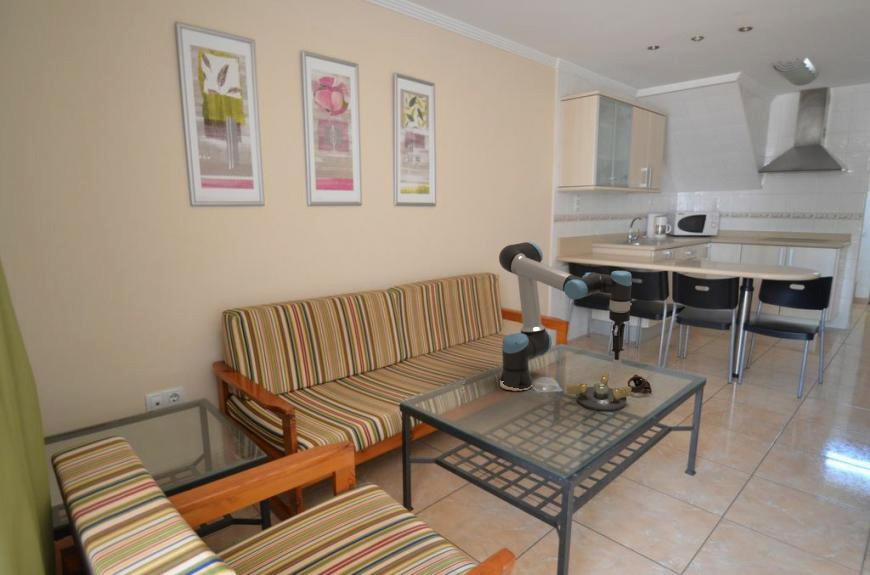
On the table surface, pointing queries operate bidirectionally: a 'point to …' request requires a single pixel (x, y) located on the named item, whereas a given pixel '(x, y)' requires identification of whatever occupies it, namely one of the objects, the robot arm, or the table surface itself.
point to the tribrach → (600, 399)
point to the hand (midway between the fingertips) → (616, 366)
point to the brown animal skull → (639, 384)
